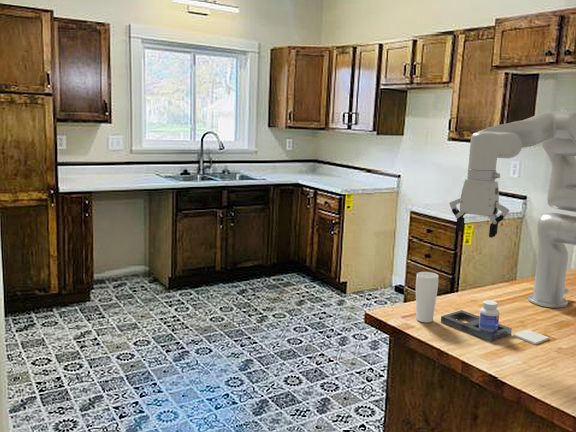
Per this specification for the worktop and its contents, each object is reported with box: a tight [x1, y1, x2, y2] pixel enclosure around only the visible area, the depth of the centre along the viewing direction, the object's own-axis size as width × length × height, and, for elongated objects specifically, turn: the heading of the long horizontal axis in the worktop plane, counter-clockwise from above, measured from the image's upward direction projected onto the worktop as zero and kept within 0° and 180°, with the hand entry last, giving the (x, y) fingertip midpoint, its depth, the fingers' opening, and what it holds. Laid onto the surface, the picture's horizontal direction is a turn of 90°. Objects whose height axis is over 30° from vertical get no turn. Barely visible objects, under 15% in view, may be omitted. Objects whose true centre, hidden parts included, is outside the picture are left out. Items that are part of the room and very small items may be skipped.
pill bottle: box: [479, 299, 500, 333], centre depth 161 cm, size 5×5×10 cm
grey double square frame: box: [440, 309, 513, 343], centre depth 165 cm, size 10×18×2 cm, turn 35°
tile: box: [512, 329, 550, 346], centre depth 159 cm, size 7×7×1 cm
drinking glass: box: [415, 271, 439, 323], centre depth 170 cm, size 7×7×15 cm
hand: (475, 234), depth 158 cm, fingers open, 9 cm apart
